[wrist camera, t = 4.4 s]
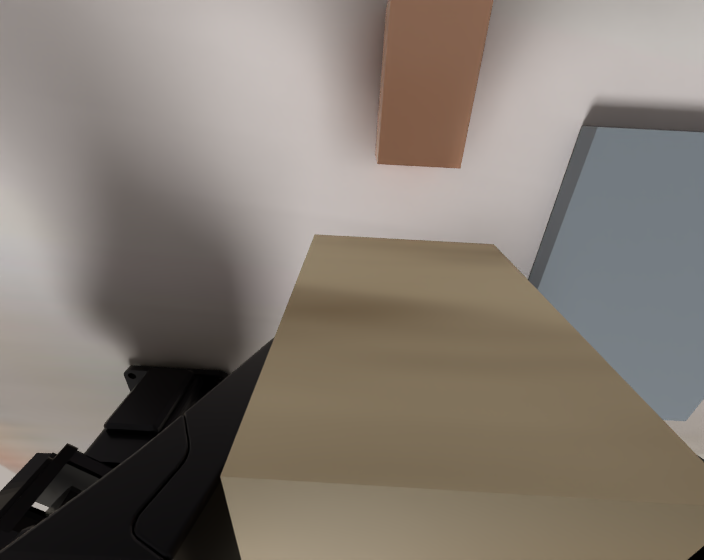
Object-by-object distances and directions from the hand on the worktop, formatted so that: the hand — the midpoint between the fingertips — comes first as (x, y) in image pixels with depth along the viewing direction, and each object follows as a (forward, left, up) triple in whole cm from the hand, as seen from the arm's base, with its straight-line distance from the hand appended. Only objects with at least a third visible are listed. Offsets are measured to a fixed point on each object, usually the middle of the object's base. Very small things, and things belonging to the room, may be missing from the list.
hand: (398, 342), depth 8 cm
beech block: (0, 0, -1) cm, 1 cm away
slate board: (-3, -14, -9) cm, 17 cm away
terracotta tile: (+6, -1, -9) cm, 11 cm away
